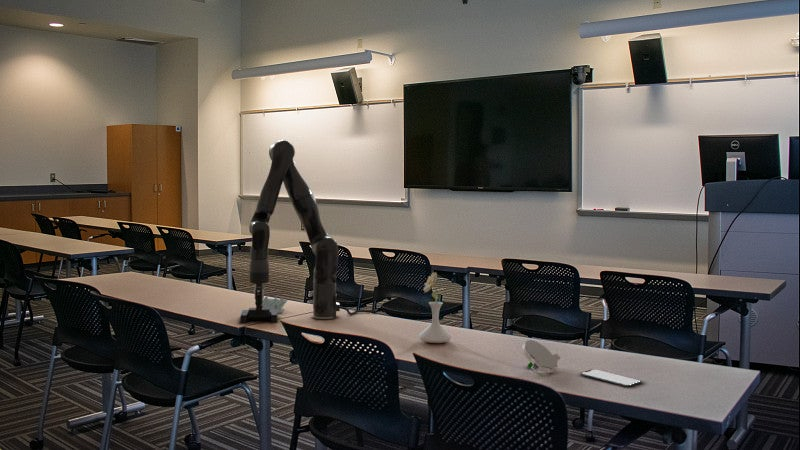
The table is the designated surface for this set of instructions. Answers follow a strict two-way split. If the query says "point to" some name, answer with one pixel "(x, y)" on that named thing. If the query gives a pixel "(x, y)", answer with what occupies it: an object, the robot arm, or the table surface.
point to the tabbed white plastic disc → (539, 357)
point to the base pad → (272, 317)
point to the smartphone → (611, 377)
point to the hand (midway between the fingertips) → (259, 313)
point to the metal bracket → (274, 304)
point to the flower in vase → (434, 318)
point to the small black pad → (253, 315)
